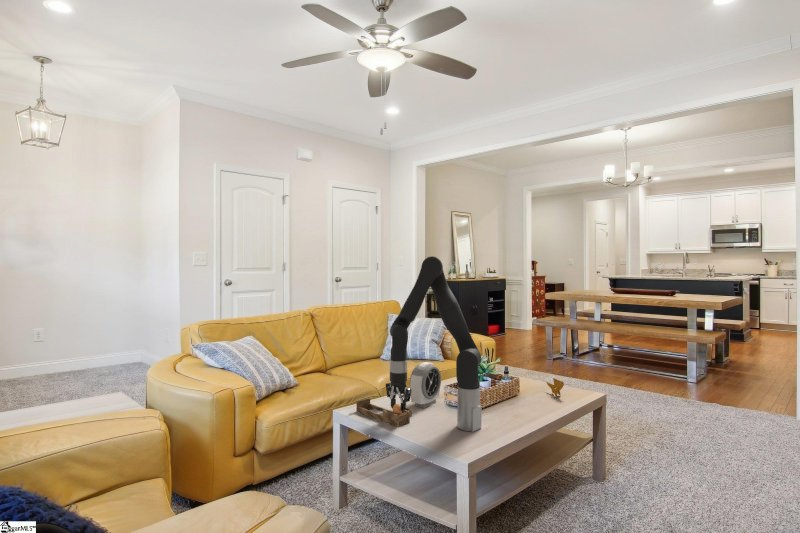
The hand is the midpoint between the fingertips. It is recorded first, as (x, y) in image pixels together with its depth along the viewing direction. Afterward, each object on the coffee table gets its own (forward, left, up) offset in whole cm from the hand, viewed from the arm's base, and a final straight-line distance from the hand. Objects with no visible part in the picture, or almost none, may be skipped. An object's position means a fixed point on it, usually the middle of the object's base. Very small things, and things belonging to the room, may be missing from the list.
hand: (398, 409), depth 192 cm
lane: (+10, 0, -6) cm, 12 cm away
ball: (0, 0, 0) cm, 0 cm away
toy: (-28, -89, -6) cm, 94 cm away
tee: (+4, -9, -6) cm, 12 cm away
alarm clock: (+9, -28, -6) cm, 30 cm away
